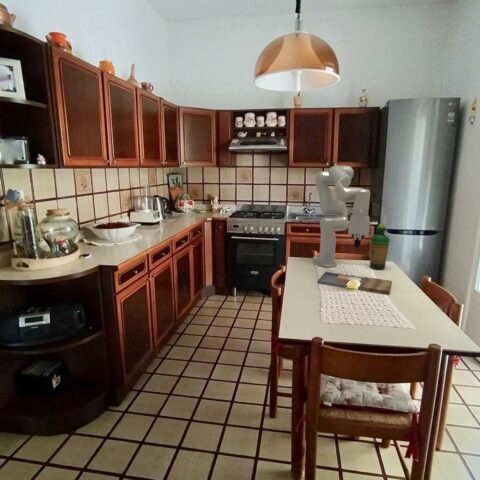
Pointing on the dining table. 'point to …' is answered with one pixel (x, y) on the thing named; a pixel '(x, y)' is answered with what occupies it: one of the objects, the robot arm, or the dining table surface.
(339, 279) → the terracotta tile
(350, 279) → the cream tile
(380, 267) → the bottle
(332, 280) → the box
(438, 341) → the dining table surface
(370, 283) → the walnut board
